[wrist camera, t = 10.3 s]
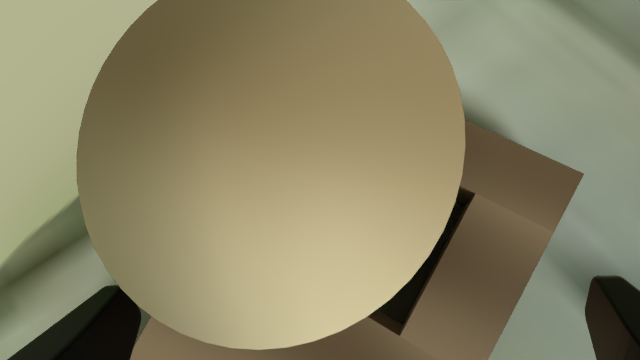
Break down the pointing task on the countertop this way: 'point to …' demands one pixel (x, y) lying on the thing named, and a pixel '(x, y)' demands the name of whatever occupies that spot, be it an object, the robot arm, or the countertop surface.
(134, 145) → the ash peg
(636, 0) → the countertop surface
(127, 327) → the robot arm
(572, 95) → the countertop surface
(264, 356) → the walnut board
